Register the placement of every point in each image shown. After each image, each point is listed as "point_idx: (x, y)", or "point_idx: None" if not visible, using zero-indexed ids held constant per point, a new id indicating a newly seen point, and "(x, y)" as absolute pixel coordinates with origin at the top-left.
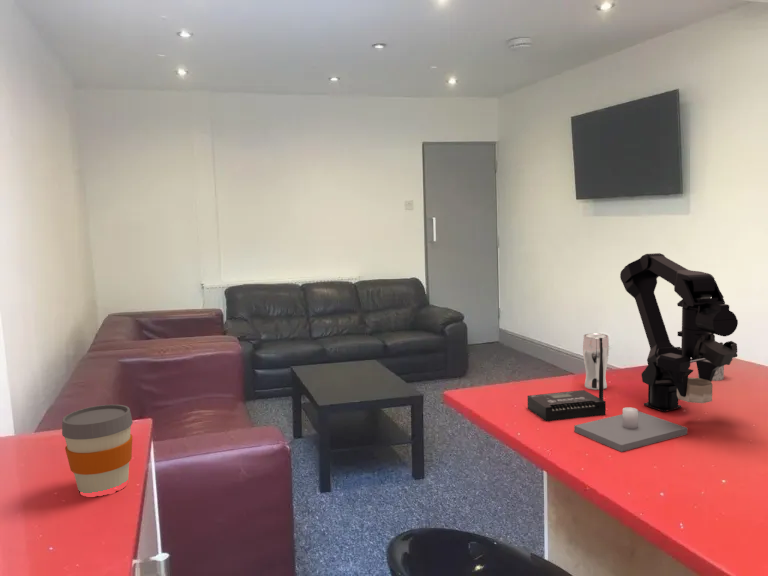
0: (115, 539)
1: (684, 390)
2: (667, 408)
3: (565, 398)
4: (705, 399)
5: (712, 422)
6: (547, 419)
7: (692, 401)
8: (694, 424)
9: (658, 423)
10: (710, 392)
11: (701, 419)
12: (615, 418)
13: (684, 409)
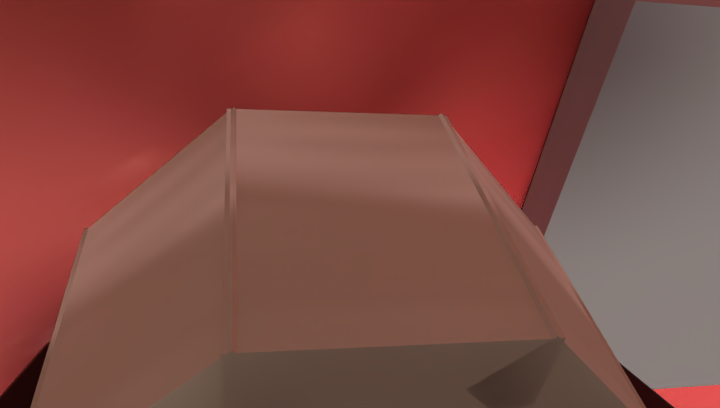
0: None
1: (649, 390)
2: None
3: None
4: (405, 143)
5: (91, 43)
6: None
7: (523, 214)
8: (299, 100)
9: (661, 196)
10: (285, 209)
11: (120, 147)
12: (714, 362)
13: (43, 342)
